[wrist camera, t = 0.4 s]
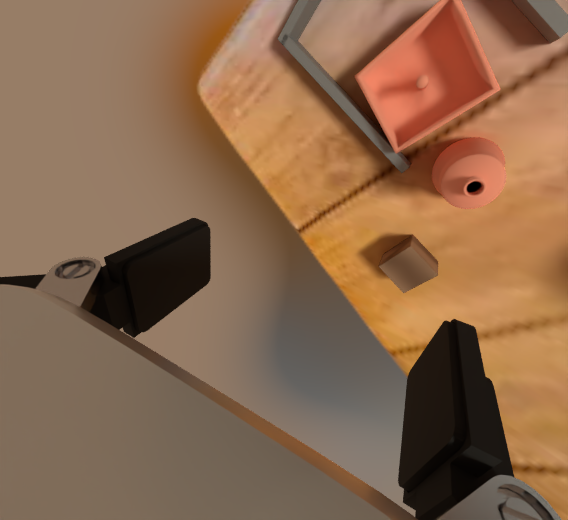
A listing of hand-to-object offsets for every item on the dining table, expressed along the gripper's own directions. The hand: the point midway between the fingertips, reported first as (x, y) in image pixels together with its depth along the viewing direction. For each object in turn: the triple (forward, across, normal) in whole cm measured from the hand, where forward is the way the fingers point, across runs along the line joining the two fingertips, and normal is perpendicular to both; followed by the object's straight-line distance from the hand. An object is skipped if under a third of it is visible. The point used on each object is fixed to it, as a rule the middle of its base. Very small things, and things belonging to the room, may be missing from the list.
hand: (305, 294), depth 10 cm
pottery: (+30, -3, -6) cm, 30 cm away
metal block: (+30, -6, +11) cm, 32 cm away
